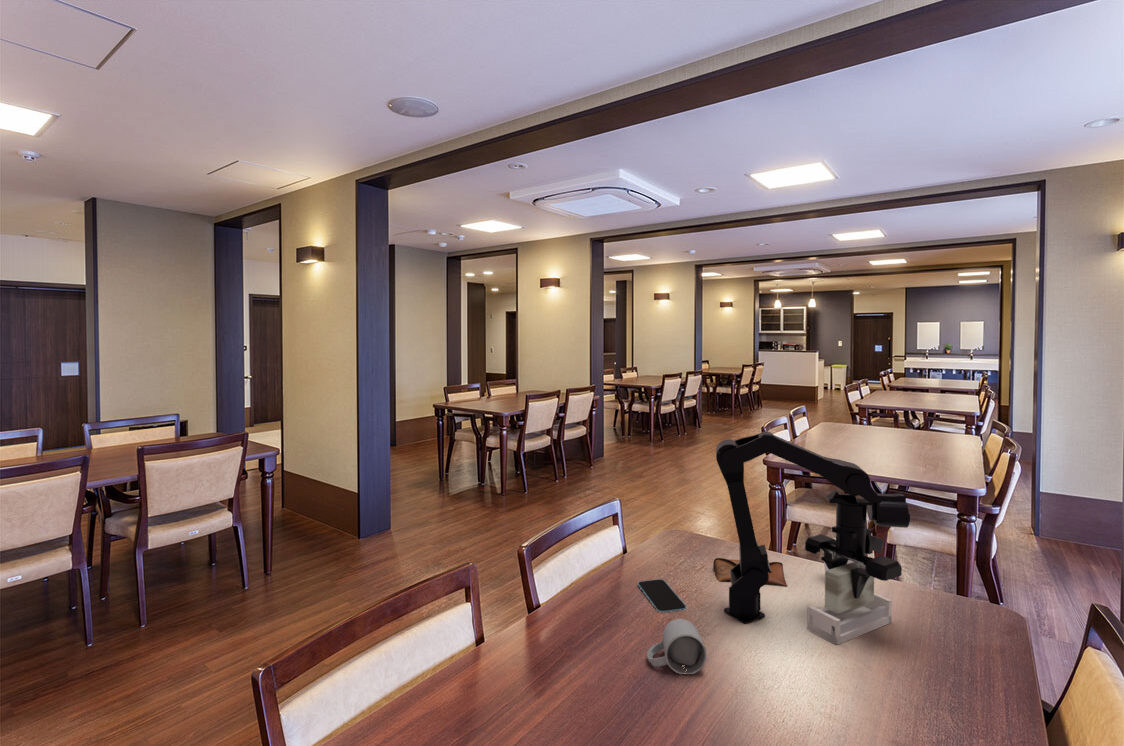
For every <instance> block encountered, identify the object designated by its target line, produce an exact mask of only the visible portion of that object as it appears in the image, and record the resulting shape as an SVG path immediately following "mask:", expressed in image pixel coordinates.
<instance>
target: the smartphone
mask: <svg viewBox="0 0 1124 746" xmlns="http://www.w3.org/2000/svg"><path fill="white" fill-rule="evenodd" d="M638 586H639V587H640V588H641V590H642V591H643V593H644V594H645V595H646V596H647V598H648V599H649V600H650V602H651V603H652V604H653V606H654V607H655V608H656V609H657V611H659V612H668V613H671V612H670V611H676V612H678V611H677V610H684V609H686V610H687V606H686V604H685V603H684V602H683V600H682V599H681V598H680V597H679V596H678V594H677V593H676V592H675V591H674V590H673V589H672V588H671V586H670V585H669V584H668V583H667V582H666V580H665V579H661V578H656V579H649V580H642V581H641V580H640V581H637V587H638ZM639 587H638V588H639ZM641 590H640V591H641ZM642 591H641V592H642ZM643 593H642V594H643ZM644 594H643V595H644ZM645 595H644V596H645ZM646 596H645V597H646ZM647 598H646V599H647ZM648 599H647V600H648ZM649 600H648V601H649ZM650 602H649V603H650ZM651 603H650V604H651ZM652 604H651V605H652ZM653 606H652V607H653ZM654 607H653V608H654ZM655 608H654V609H655ZM656 609H655V610H656ZM657 611H656V612H657ZM684 611H685V610H684ZM659 612H658V613H659Z"/></svg>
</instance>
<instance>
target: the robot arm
mask: <svg viewBox="0 0 1124 746" xmlns="http://www.w3.org/2000/svg"><path fill="white" fill-rule="evenodd" d="M765 454H772V455H774V456H776V457H778V458H781V459H783V460H785V461H787V462H788V463H789V462H790V463H792V464H794V465H797V466H799V467H801V468H803V469H805V470H808V471H810V472H813V473H815V474H817V475H819V476H821V477H822V478H823V479H825V480H826V481H828V482H830V483H831V484H832V485H833V486H835V487H836V488H839V489H840V490H841V491H843V492H844V493H840V492H838V490H836V489H833V490H832V492H830V493H828V494H827V495H826V496H825V498H826V500H827V501H828V502H829V504H836V505H835V508H836V509H835V526H832V527H831V532H832V533H835V538H836V540H835V539H833V537H830V536H827V535H825V534H821V533H820V534H817V535H814V536H808V538H806V539H805V541H804V550H805V551H806V552H809V553H811V554H813V555H816V554H819V553H820V552H821V550H822V551H823V556H821V557H820V559H821V561H823V563H824V562H825V563H826V565H827V567H828V569H829V570H830V569H833V568H836V567H839V566H842V565H846V564H847V562H848V560H851V561H854V562H856V563H858V567H857V568H855V569H852V570H851V577H852V586H853V594H854V598H856V599H857V598H859V597H860V595H861V593H862V591H863V588H864V586H865V584H866V582H867V580H868V579H869V577H870V576H872V577H874V579H877V580H880V581H883V582H886V581H890V580H893V579H895V578H899V577H901V576H902V571H903V569H902V565H901V564H900V562H899V561H897V560H895V559H892V558H889V557H887V556H885V555H880V556H876V557H871V556H867V554H868V555H871V554H873V553H874V552H876V553H878V554H882V551H883V547H884V543H885V539H884V538H881V537H878V536H874V535H872V532H871V529H870V528H868V527H867V517H868V519H869V521H873V524H874V525H875V526H877V527H891V528H892V527H893V528H905V529H907V528H908V527H909V525H910V521H911V514H910V512H909V506H908V504H907V497H906V496H905V495H904V494H903V493H878V492H877V491H876V490H875V489H874V488H872V487H871V479H870V476H869V474H868V473H867V472H866V471H865V470H864V469H862V468H861V467H860V466H859V465H857V464H856V463H853V462H850V461H846V460H842V459H836V458H832V457H826V456H823V455H822V454H819V453H816V452H814V451H811V450H809V449H806V448H805V447H802V446H800V445H798V444H796V443H793V442H790V441H789V440H786V439H784V438H782V437H779V436H777V435H774V434H773V432H771V431H762V432H760V433H758V434H754V435H748V436H745V437H741V438H738V439H736V440H733V439H724V440H721V441H720V442H719V443H718V444H717V445H716V447H715V458H716V463H717V465H718V467H719V470H720V472H721V474H722V477H723V479H724V481H725V483H726V485H727V490H728V494H729V499H730V505H731V509H732V513H733V517H734V523H735V528H736V532H737V537H738V543H739V544H738V545H739V546H738V550H739V552H738V553H739V558H738V560H740V562H739V563H738V564H737V565H736V566H735V567H733V568H732V569H731V570H730V575H731V582H730V583H731V585H730V587H728V607H726V608H724V609H723V612H724V613H726V614H728V615H729V616H731V617H732V618H734V619H735V620H737V621H739V622H741V623H742V624H747V623H751V622H754V621H756V620H760V619H762V618H765V617H766V614H765V612H764V613H763V612H762V611H761V592H760V589H761V588H763V587H764V586H765V584H766V583H767V582H768V580H769V574H768V572H769V573H772V572H771V568H770V565H769V562H770V561H769V556H768V551H767V547H766V545H765V544H761V545H759V543H758V542H757V538H756V533H755V529H754V524H753V521H752V515H751V511H750V505H749V501H748V497H747V492H746V487H745V466H744V465H745V464H744V463H746V462H749V461H752V460H754V459H756V458H758V457H760V456H762V455H765ZM857 497H858V498H857ZM859 497H861V498H859Z"/></svg>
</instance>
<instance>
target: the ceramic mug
mask: <svg viewBox="0 0 1124 746" xmlns="http://www.w3.org/2000/svg"><path fill="white" fill-rule="evenodd" d="M662 650H663V651H664V655H663V656H660V657H656V658H654V656H655V654H657V653H660V651H662ZM646 659H647V660H648V663H649V662H650V663H651V664H652V665H653V666H652V665H651V664H650V663H649V664H650V665H651V666H652V667H656V668H658V667H663V666H666V665H668V667H669V668H670V669H671V670H672V671H673V672H675V673H676V674H678V673H679V675H682V674H684V673H686V674H692V675H695V674H697V673H699V672H700V671H701V670H702V668H703V667H704V666H705V663H706V661H707V648H706V646H705V644H704V642H703V639H702V636H701V635H700V631H698V629H697V627H696V626H695V625H694V624H693V623H692V622H691V621H689V620H687V619H684V618H675V619H673V620H670V621H669V622H668V623H667V624H666V625H665V626H664V629H663V633H662V641H660V642H656V643H655V644H654V645H652V646H651V647H650V648H649V649H648V650H647V653H646ZM682 665H685V666H684V667H685V668H684V667H682ZM683 668H684V669H683ZM686 669H687V671H686ZM685 671H686V672H685Z"/></svg>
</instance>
